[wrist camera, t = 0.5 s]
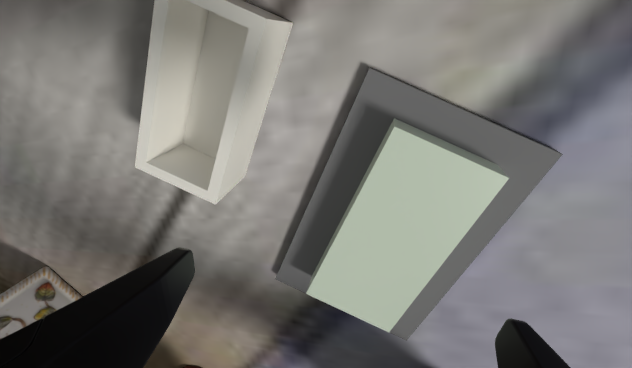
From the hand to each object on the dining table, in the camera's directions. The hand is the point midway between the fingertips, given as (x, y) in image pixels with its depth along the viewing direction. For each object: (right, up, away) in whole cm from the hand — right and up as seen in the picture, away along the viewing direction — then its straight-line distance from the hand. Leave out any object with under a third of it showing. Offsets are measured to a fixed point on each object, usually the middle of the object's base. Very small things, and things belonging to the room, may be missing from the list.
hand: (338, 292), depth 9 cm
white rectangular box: (-6, +9, +12) cm, 17 cm away
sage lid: (+5, 0, +13) cm, 14 cm away
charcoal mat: (+5, 0, +14) cm, 15 cm away
